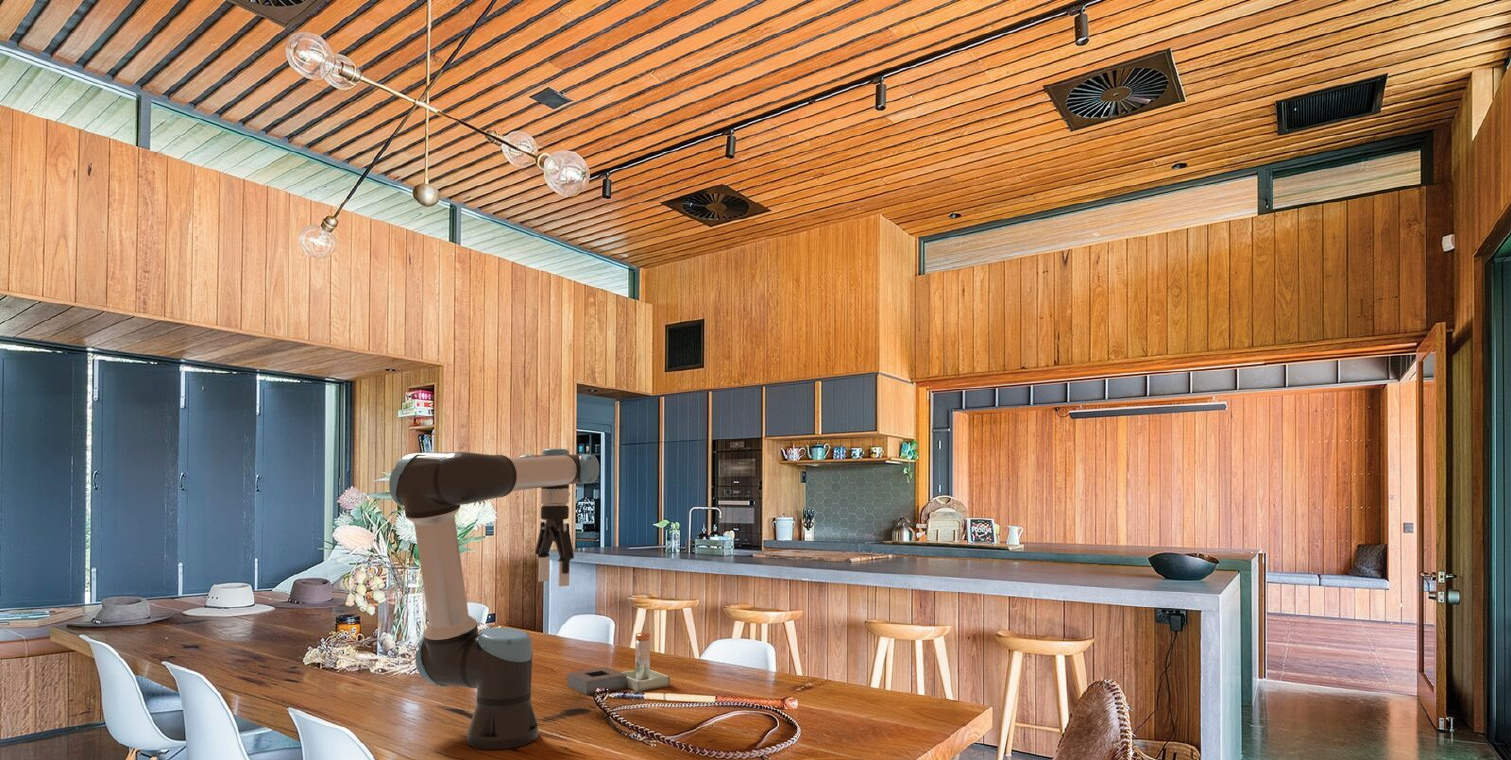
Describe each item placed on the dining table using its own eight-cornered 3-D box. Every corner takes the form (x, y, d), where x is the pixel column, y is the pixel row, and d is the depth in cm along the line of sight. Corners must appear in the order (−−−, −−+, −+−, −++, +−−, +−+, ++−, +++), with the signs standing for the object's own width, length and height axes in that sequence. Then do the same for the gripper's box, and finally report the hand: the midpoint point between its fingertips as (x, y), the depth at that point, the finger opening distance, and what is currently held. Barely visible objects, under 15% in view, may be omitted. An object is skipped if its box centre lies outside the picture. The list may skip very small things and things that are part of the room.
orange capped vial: (639, 684, 234) (639, 635, 235) (632, 681, 237) (632, 633, 238) (652, 682, 236) (652, 634, 237) (645, 679, 239) (645, 632, 241)
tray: (637, 691, 228) (638, 681, 228) (615, 682, 239) (615, 673, 239) (669, 685, 234) (669, 676, 234) (646, 677, 244) (646, 668, 245)
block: (586, 694, 225) (586, 680, 226) (567, 685, 235) (567, 672, 235) (626, 687, 232) (626, 674, 233) (606, 679, 242) (606, 666, 242)
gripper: (587, 505, 226) (586, 586, 223) (549, 503, 246) (548, 578, 243) (561, 506, 221) (559, 589, 219) (524, 504, 241) (522, 580, 239)
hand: (553, 583), depth 231 cm, fingers open, 13 cm apart
